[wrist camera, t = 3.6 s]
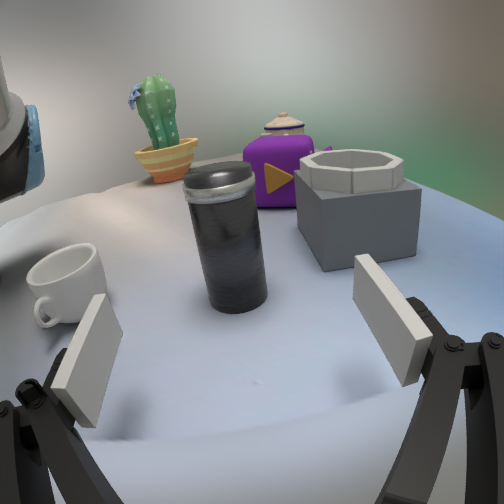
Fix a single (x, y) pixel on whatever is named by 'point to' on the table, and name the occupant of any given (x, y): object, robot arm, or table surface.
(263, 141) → the toy camera
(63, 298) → the teacup
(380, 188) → the camera body block
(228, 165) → the lens
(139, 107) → the potted cactus
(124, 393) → the table surface
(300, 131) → the teacup with lid
